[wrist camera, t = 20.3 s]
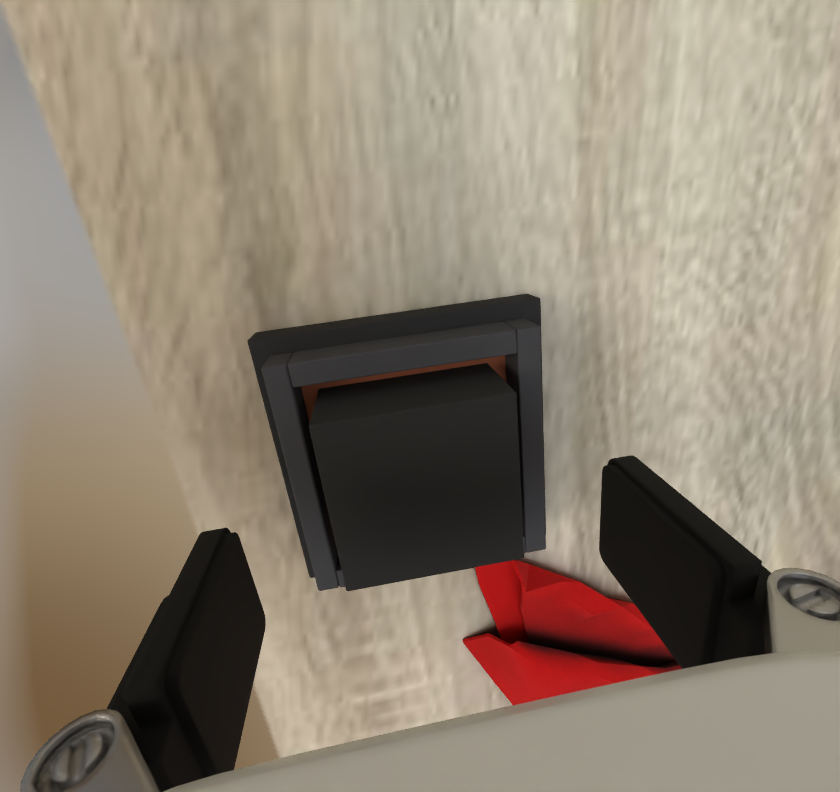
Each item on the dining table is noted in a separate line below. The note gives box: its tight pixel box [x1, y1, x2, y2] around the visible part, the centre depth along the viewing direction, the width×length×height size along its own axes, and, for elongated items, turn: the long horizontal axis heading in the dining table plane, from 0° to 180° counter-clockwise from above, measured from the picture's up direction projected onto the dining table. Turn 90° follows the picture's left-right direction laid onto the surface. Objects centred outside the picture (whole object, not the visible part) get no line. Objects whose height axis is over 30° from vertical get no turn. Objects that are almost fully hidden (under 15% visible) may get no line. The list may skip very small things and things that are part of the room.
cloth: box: [463, 560, 682, 705], centre depth 24 cm, size 26×14×2 cm, turn 16°
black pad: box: [309, 363, 524, 591], centre depth 15 cm, size 6×6×3 cm
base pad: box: [248, 294, 546, 591], centre depth 17 cm, size 10×10×3 cm
